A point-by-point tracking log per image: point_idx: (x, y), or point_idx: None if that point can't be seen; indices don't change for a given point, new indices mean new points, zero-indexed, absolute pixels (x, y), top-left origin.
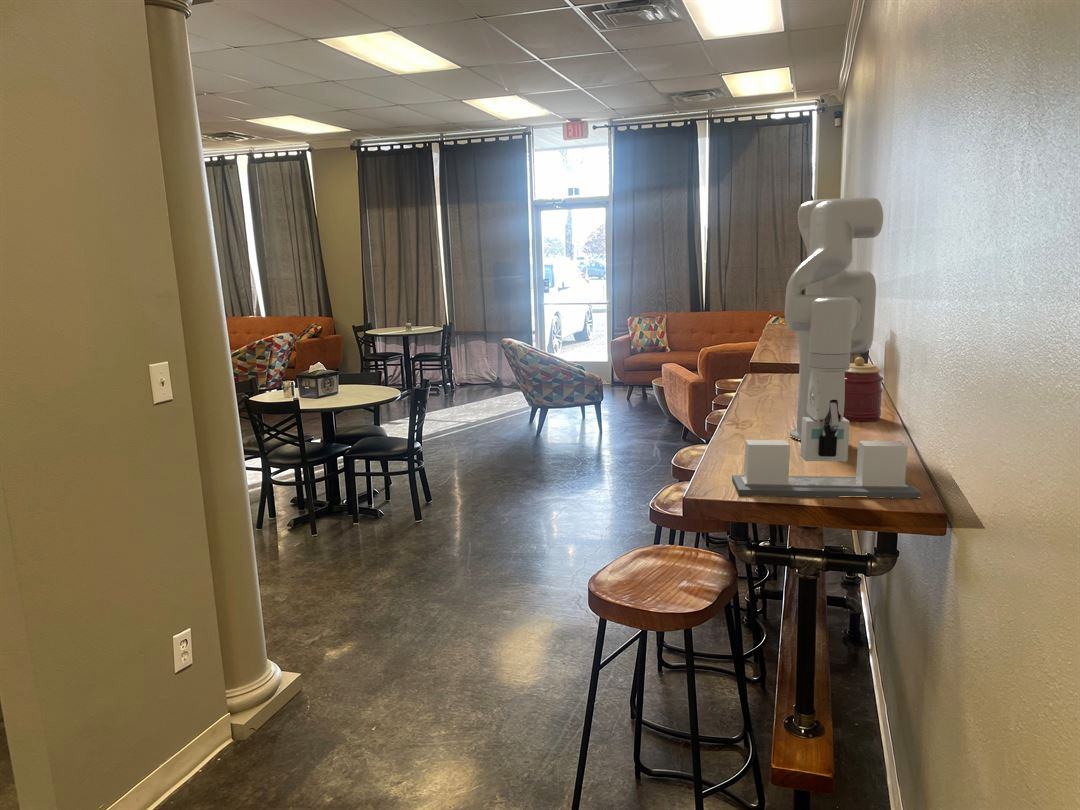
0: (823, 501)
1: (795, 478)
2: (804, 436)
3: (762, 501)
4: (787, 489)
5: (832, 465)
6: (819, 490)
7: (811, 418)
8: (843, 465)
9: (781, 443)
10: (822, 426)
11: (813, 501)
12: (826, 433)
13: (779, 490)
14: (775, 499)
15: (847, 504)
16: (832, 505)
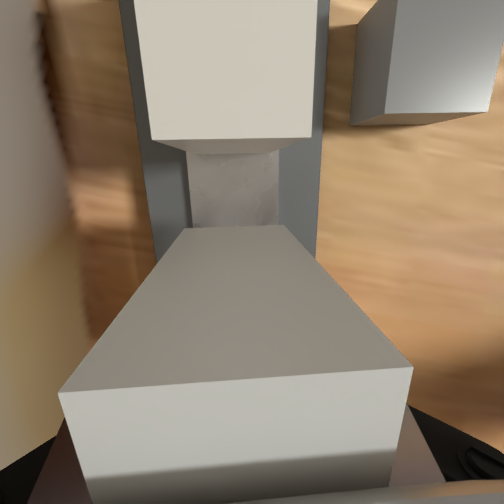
0: (119, 246)
1: (267, 193)
2: (204, 270)
3: (65, 33)
4: (151, 143)
5: (462, 330)
6: (159, 249)
7: (300, 467)
8: (457, 355)
9: (194, 73)
10: (52, 490)
11: (112, 218)
12: (40, 448)
13: (134, 109)
14: (103, 92)
15: (107, 302)
16: (87, 263)
